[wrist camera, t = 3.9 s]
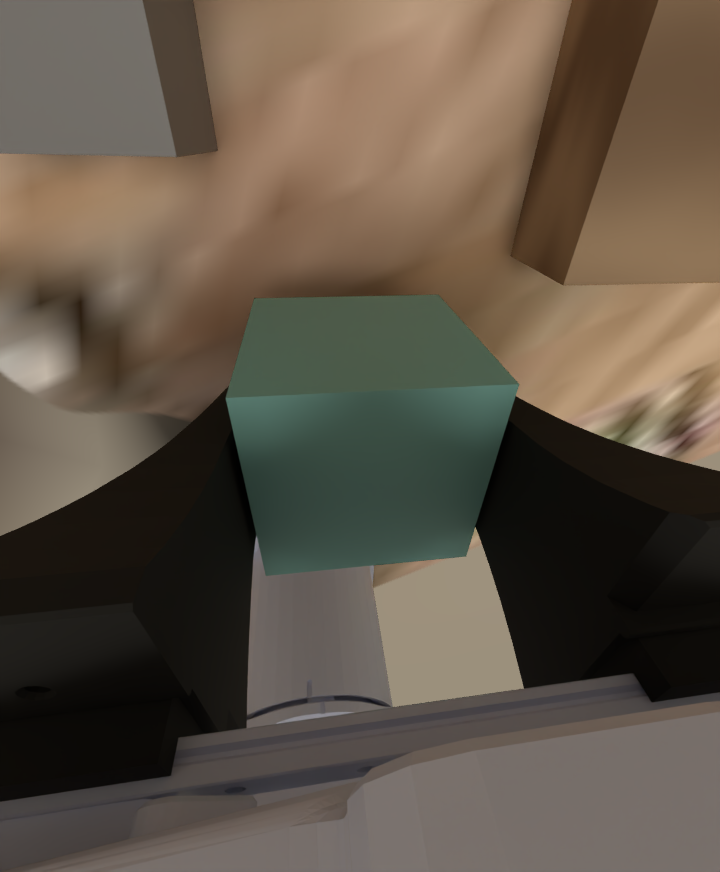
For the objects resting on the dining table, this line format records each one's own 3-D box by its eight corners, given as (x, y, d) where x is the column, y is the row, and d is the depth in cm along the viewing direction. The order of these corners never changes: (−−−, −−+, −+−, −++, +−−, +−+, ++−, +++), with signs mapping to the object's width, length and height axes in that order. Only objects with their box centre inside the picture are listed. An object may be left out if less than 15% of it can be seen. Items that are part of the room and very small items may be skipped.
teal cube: (418, 437, 14) (465, 556, 10) (275, 445, 13) (265, 575, 9) (438, 294, 11) (519, 384, 7) (254, 298, 10) (225, 397, 6)
